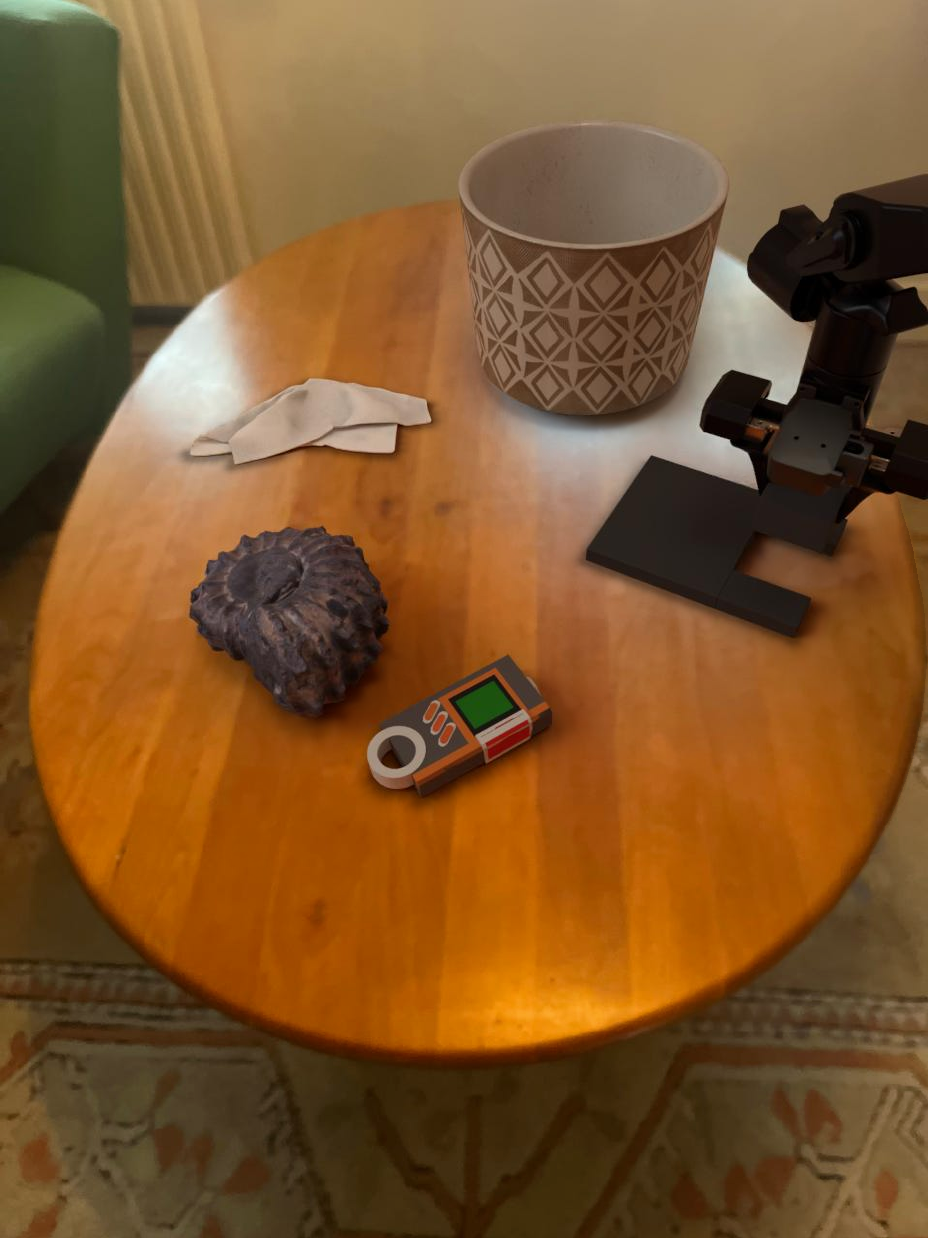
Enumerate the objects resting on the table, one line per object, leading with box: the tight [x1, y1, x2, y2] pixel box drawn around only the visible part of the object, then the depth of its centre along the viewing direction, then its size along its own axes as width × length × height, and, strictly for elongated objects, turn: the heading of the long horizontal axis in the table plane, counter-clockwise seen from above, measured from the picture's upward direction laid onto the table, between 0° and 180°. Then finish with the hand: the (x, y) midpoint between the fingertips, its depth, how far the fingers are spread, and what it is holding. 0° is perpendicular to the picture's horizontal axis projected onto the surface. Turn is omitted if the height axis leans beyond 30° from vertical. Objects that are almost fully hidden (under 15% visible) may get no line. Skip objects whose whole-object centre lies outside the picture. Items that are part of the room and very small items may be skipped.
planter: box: [458, 119, 730, 416], centre depth 101 cm, size 26×26×22 cm
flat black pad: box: [585, 455, 849, 639], centre depth 90 cm, size 20×15×2 cm
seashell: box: [188, 525, 390, 718], centre depth 81 cm, size 20×13×15 cm
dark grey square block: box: [751, 480, 851, 554], centre depth 82 cm, size 6×6×4 cm
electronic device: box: [366, 654, 553, 798], centre depth 77 cm, size 7×3×15 cm
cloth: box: [189, 377, 432, 466], centre depth 104 cm, size 26×14×2 cm, turn 91°
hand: (800, 508), depth 82 cm, fingers closed on dark grey square block, 6 cm apart
